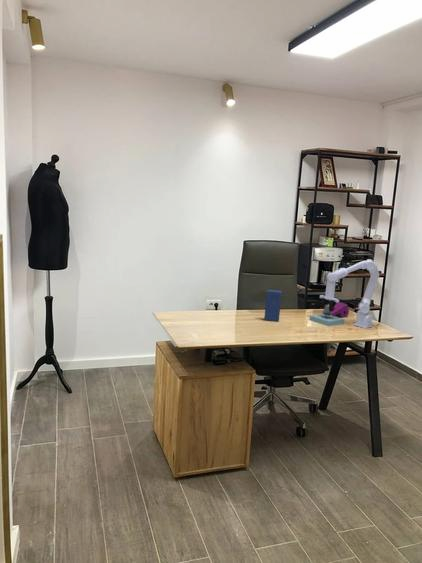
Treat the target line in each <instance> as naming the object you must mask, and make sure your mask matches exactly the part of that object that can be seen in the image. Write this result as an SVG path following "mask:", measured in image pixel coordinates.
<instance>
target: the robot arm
mask: <svg viewBox="0 0 422 563" xmlns="http://www.w3.org/2000/svg"><path fill="white" fill-rule="evenodd" d="M360 269H362V270H367V271H368V272H369V274H370V277H369V280H368V283H367V285H366V289H365V291H364V295H363V297H362V299H361V301H360V302H359V303H358V305H357V307H358V310H357V315H356V321H355V323H353V324H352V325H353V326H356V327H359V328H362V329H369V328H373V326H372V325H373V320H374V319H373V315H372V314H370V311H371V310H370V305H371V300H372V298H373V294H374V292H375V289H376V286H377V283H378V280H379V277H380V271H379V269H378V265H377V264H376V262H374V260H373V259H369V258H368V259H366V260H362V261H360V262H357V263H355V264H353V265H350V266H349V267H346V268H345V267H340V268H339V269H337V270H334V271H332V272H329V273H328V274H327V276H326V278H327V279H326V286H325V287H326V288H325V295H324V294H320V295H319V299H321V303H322V308H323V310H324V308H325V304H330V309H329V311H330V312H332V311H333V308H334V306H335V305H336V303H337V302H340V299H339V298H336V297H335V292H336V281H337V280H340V279H342V278H345V277H347V276H348V275H349V273H351V272H354V271H356V270H357V271H358V270H360Z"/></svg>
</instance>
